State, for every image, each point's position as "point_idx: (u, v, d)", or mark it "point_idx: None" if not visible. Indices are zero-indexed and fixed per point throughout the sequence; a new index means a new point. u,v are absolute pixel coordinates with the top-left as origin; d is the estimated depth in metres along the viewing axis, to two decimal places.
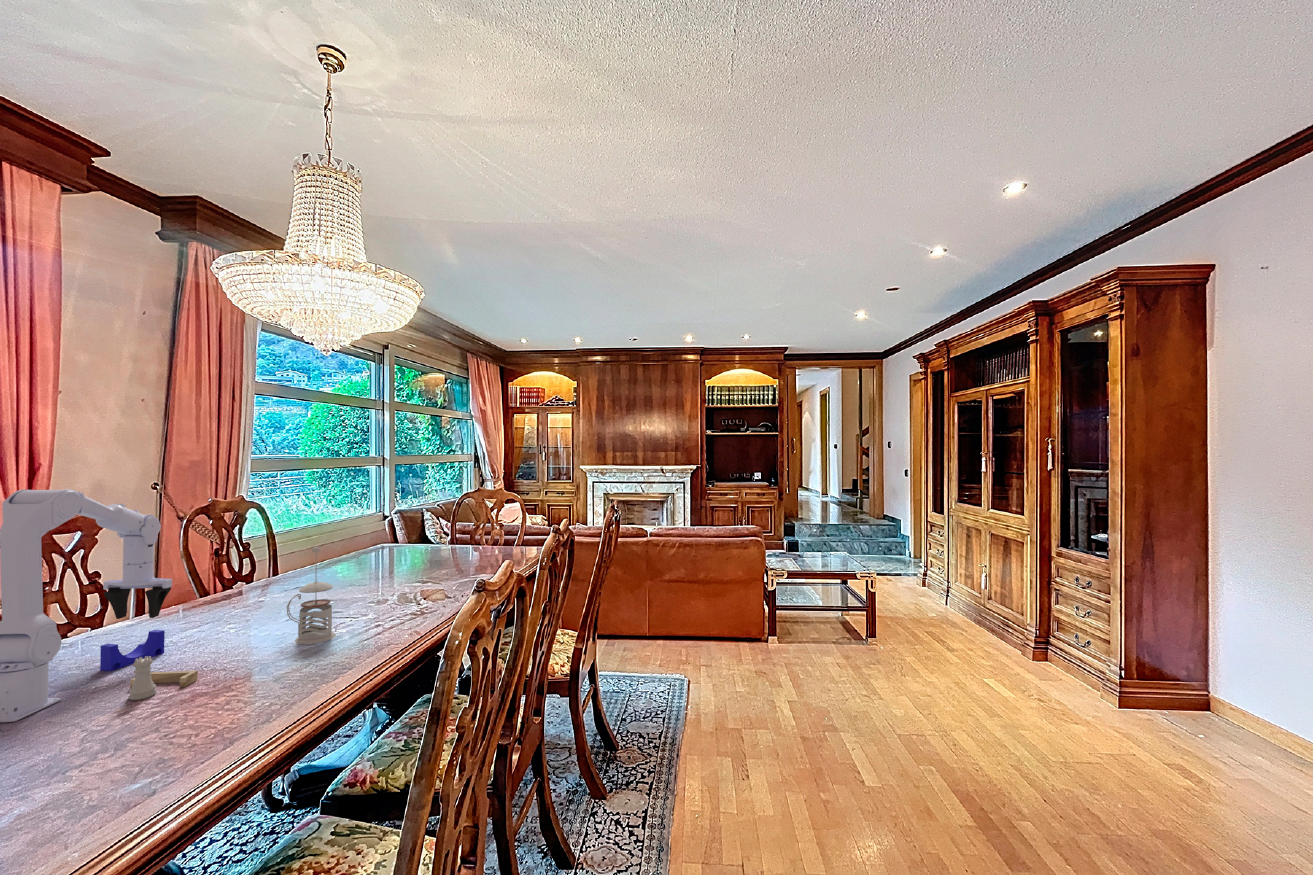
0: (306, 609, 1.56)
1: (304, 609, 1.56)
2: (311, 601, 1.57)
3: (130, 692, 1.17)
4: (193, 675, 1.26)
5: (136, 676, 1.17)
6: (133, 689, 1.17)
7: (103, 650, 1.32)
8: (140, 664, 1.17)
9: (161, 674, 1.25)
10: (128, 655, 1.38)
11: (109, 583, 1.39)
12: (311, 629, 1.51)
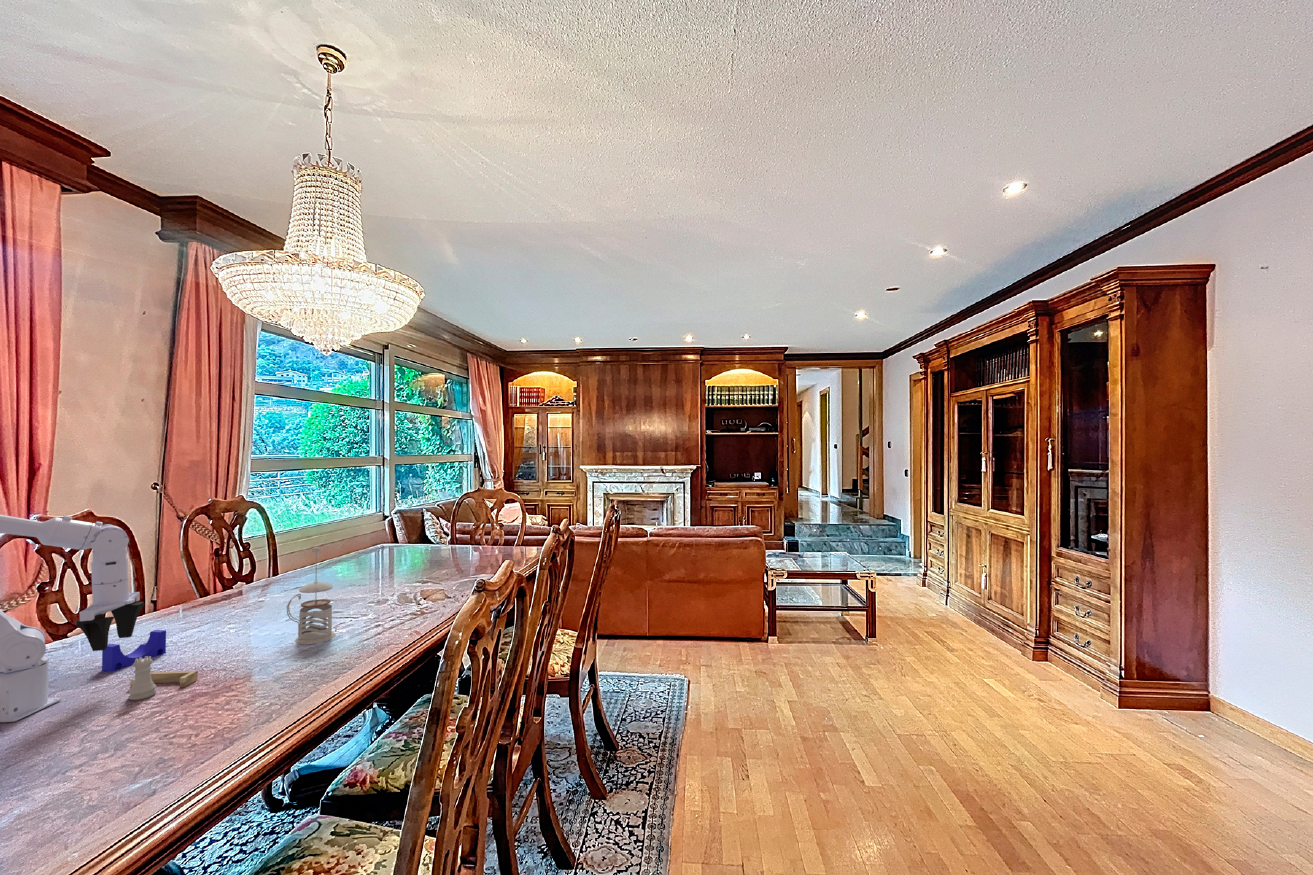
0: (306, 609, 1.56)
1: (304, 609, 1.56)
2: (311, 601, 1.57)
3: (130, 692, 1.17)
4: (193, 675, 1.26)
5: (136, 676, 1.17)
6: (133, 689, 1.17)
7: (105, 650, 1.32)
8: (140, 664, 1.17)
9: (161, 674, 1.25)
10: (130, 655, 1.38)
11: None
12: (311, 629, 1.51)
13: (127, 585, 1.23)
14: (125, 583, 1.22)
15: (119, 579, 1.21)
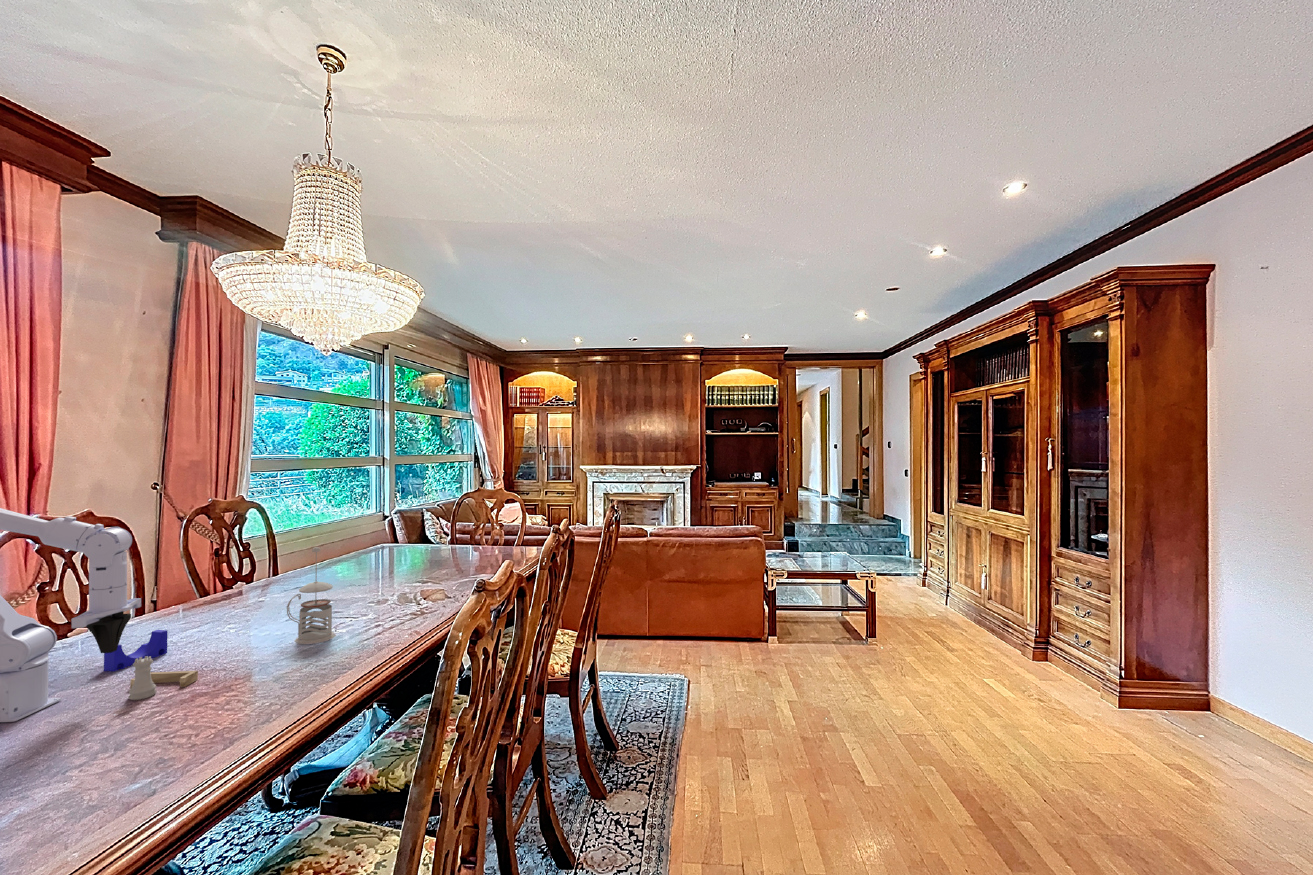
0: (306, 609, 1.56)
1: (304, 609, 1.56)
2: (311, 601, 1.57)
3: (130, 692, 1.17)
4: (193, 675, 1.26)
5: (136, 676, 1.17)
6: (133, 689, 1.17)
7: None
8: (140, 664, 1.17)
9: (161, 674, 1.25)
10: (131, 655, 1.38)
11: None
12: (311, 629, 1.51)
13: (125, 591, 1.18)
14: (122, 589, 1.18)
15: (109, 586, 1.15)
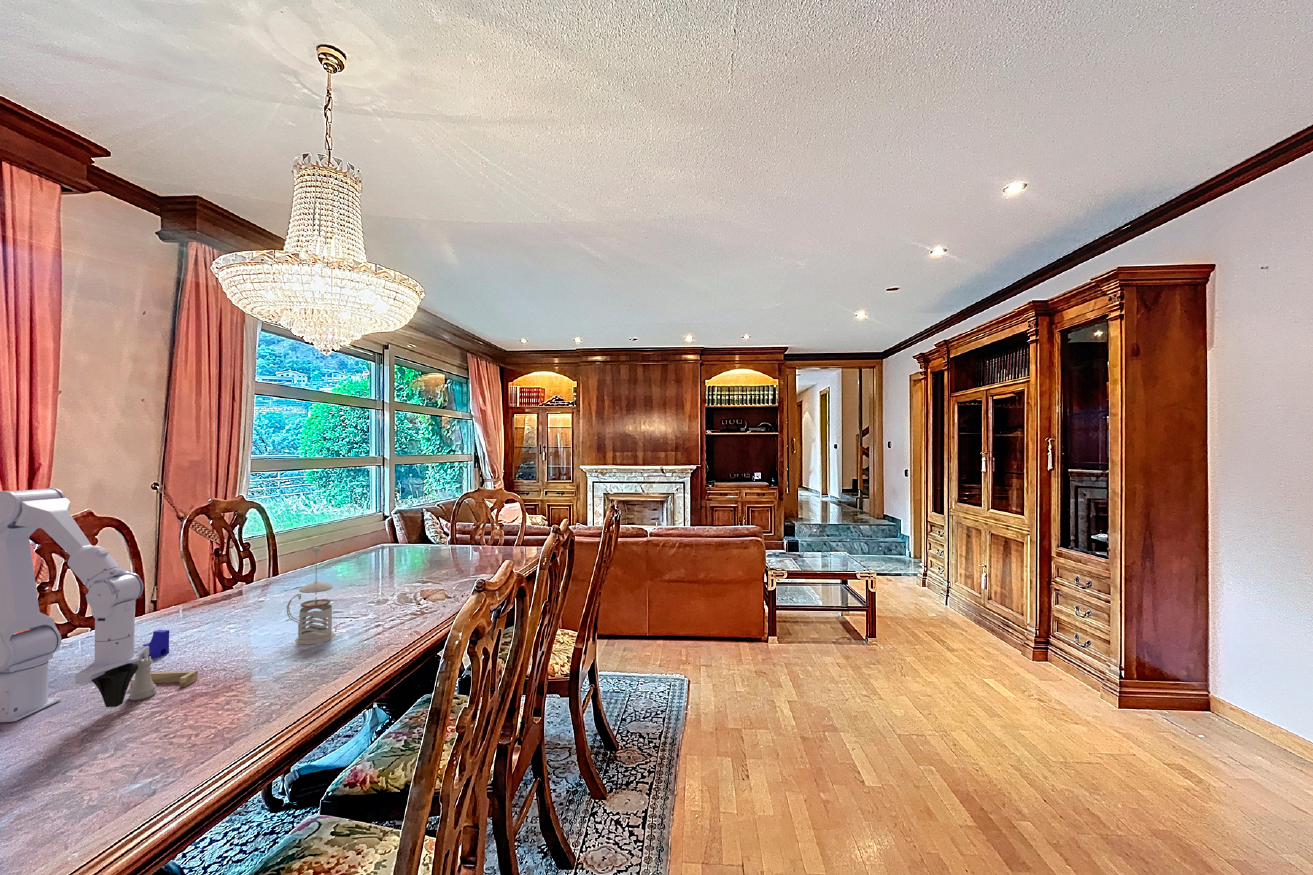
0: (306, 609, 1.56)
1: (304, 609, 1.56)
2: (311, 601, 1.57)
3: (130, 692, 1.17)
4: (193, 675, 1.26)
5: (136, 676, 1.17)
6: (133, 689, 1.17)
7: None
8: (140, 664, 1.17)
9: (161, 674, 1.25)
10: None
11: None
12: (311, 629, 1.51)
13: (132, 641, 1.13)
14: (129, 639, 1.12)
15: (108, 638, 1.09)
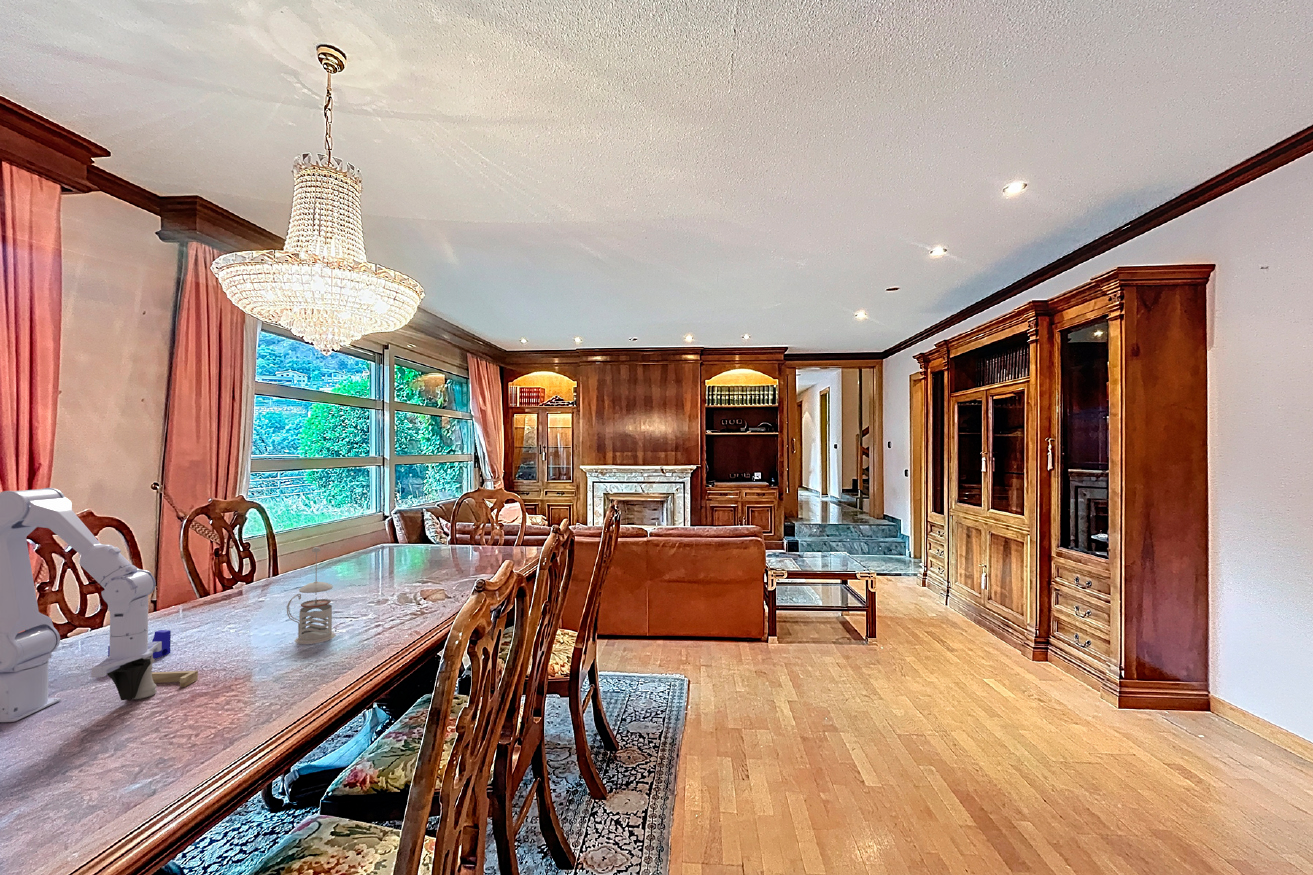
0: (306, 609, 1.56)
1: (304, 609, 1.56)
2: (311, 601, 1.57)
3: None
4: (193, 675, 1.26)
5: None
6: None
7: None
8: None
9: (161, 674, 1.25)
10: None
11: None
12: (311, 629, 1.51)
13: (145, 637, 1.16)
14: (143, 635, 1.15)
15: (126, 633, 1.13)
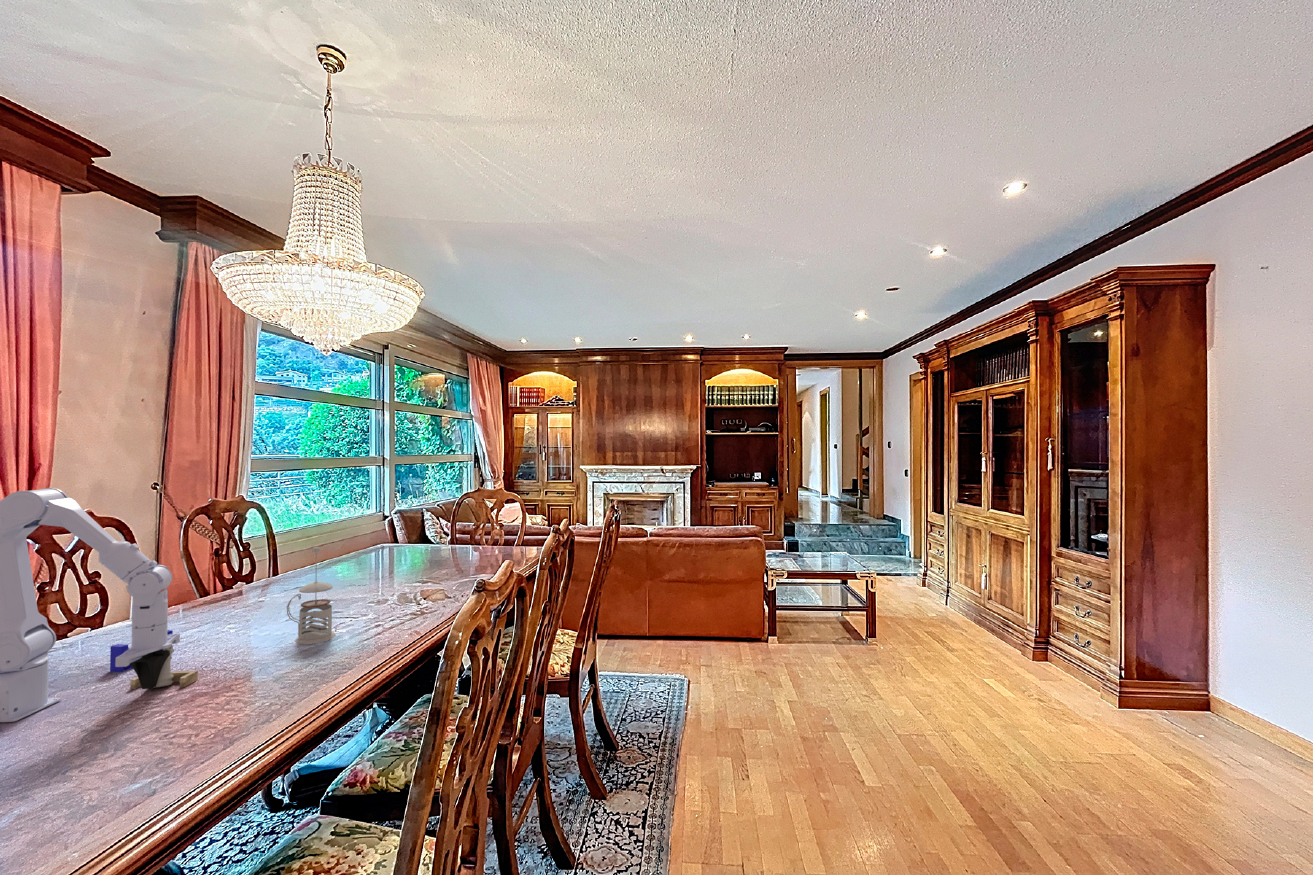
0: (306, 609, 1.56)
1: (304, 609, 1.56)
2: (311, 601, 1.57)
3: None
4: (193, 675, 1.26)
5: None
6: None
7: (113, 650, 1.32)
8: None
9: None
10: None
11: None
12: (311, 629, 1.51)
13: (165, 629, 1.21)
14: (163, 627, 1.21)
15: (152, 624, 1.19)
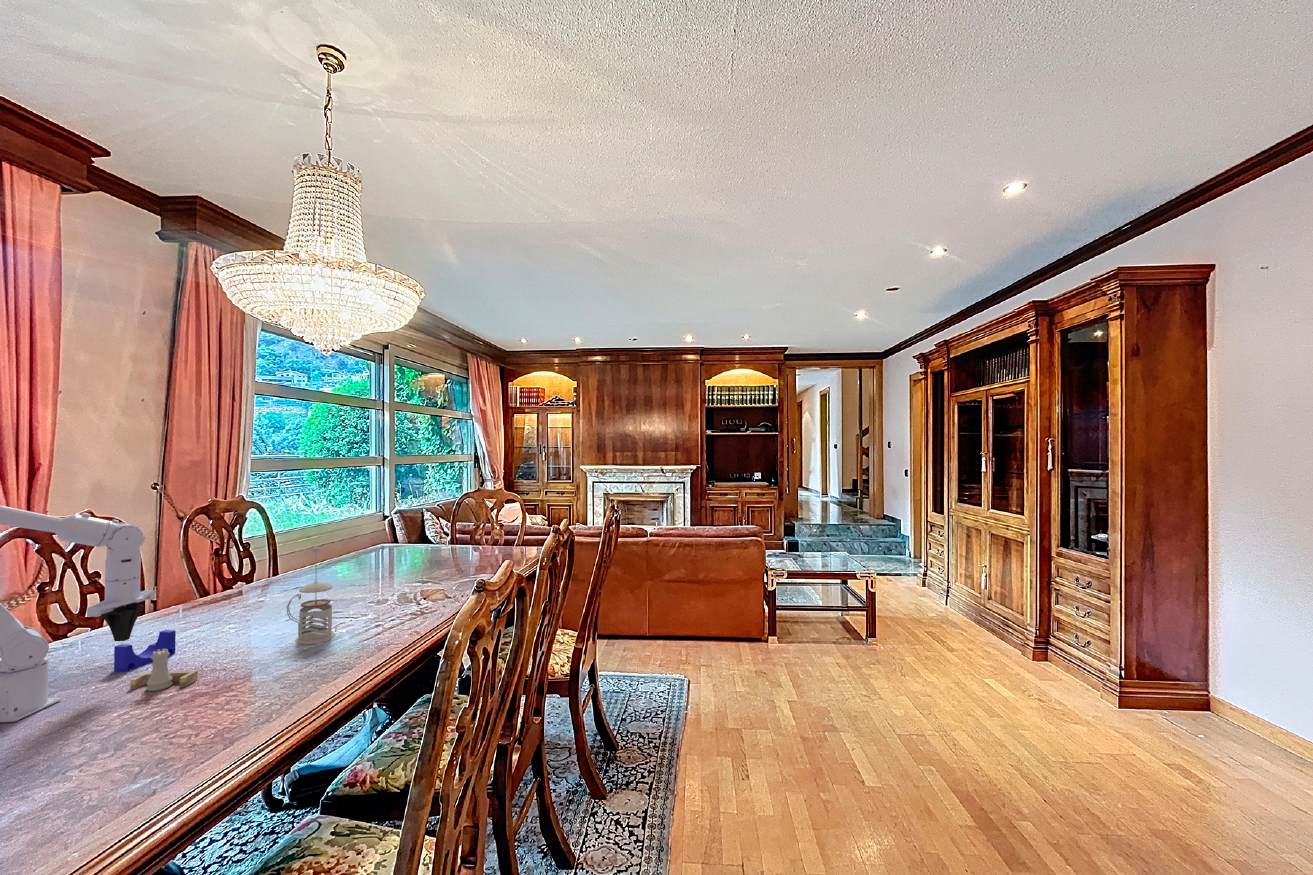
0: (306, 609, 1.56)
1: (304, 609, 1.56)
2: (311, 601, 1.57)
3: (147, 683, 1.21)
4: (193, 675, 1.26)
5: (153, 668, 1.22)
6: (150, 680, 1.21)
7: (117, 651, 1.32)
8: (157, 656, 1.22)
9: None
10: (140, 656, 1.38)
11: None
12: (311, 629, 1.51)
13: (138, 583, 1.25)
14: (136, 581, 1.24)
15: (133, 576, 1.24)
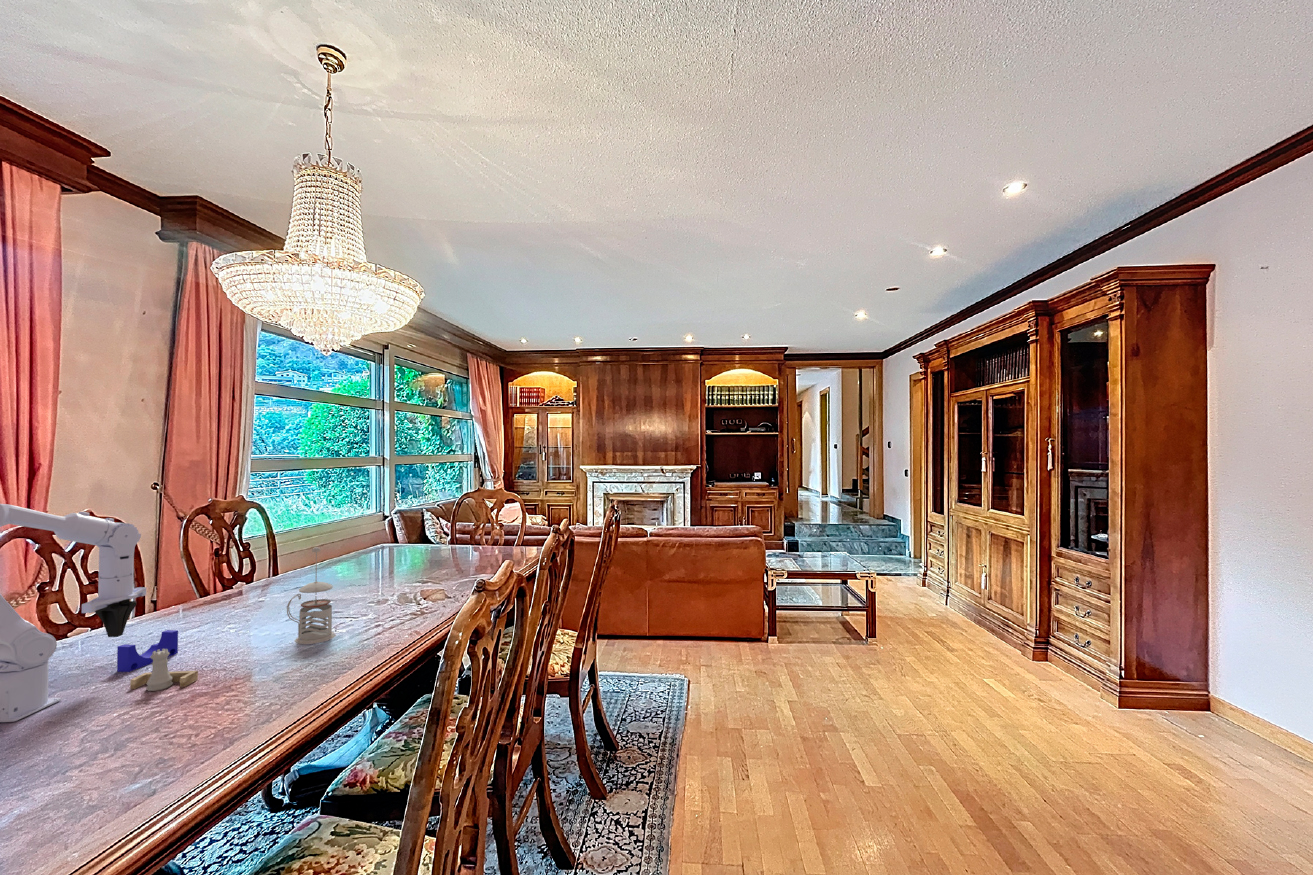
0: (306, 609, 1.56)
1: (304, 609, 1.56)
2: (311, 601, 1.57)
3: (147, 683, 1.21)
4: (193, 675, 1.26)
5: (153, 668, 1.22)
6: (150, 680, 1.21)
7: (120, 651, 1.32)
8: (157, 656, 1.22)
9: None
10: (143, 656, 1.38)
11: None
12: (311, 629, 1.51)
13: (131, 580, 1.28)
14: (129, 578, 1.27)
15: (130, 573, 1.27)
